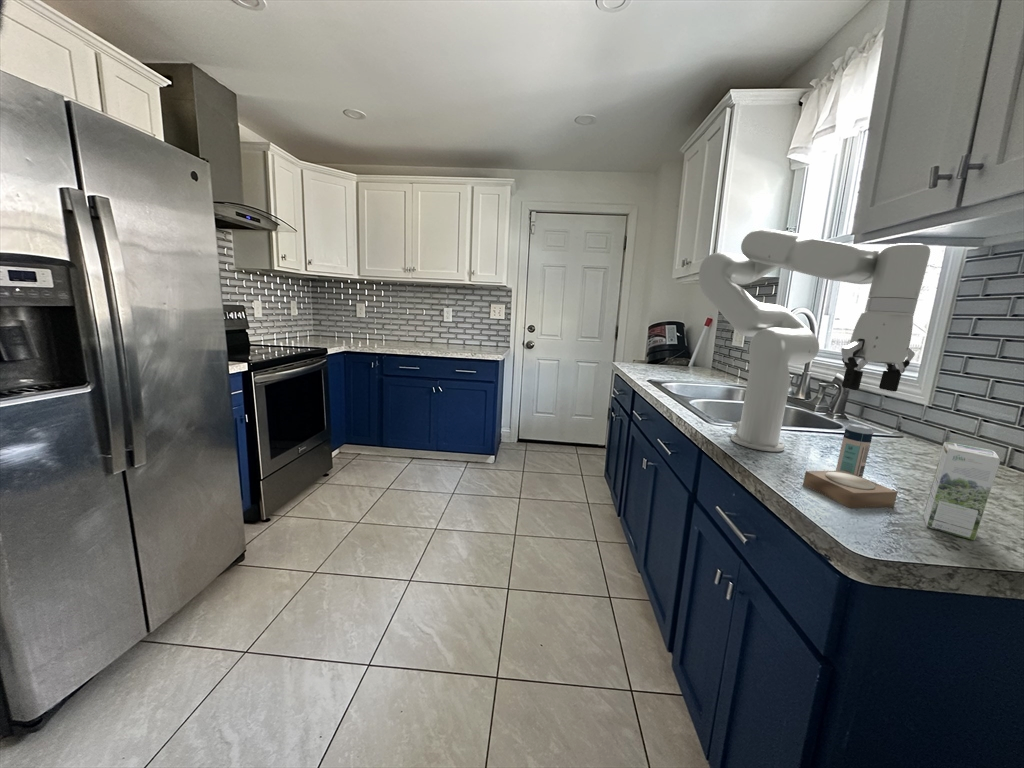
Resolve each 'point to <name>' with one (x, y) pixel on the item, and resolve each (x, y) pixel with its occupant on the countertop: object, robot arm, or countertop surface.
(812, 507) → the countertop surface
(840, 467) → the beer can
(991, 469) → the syrup box
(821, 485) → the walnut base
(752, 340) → the robot arm
